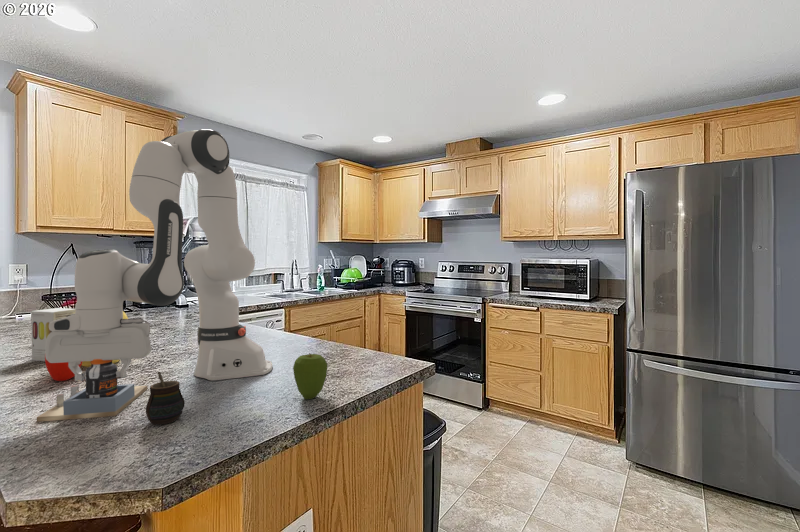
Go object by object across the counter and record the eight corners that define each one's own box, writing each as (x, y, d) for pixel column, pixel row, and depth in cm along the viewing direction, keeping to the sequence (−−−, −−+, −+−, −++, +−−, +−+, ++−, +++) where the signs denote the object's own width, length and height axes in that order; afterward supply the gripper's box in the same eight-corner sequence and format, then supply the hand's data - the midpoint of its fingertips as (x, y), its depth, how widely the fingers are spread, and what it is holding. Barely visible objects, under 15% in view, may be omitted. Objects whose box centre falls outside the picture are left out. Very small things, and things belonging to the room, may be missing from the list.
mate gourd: (156, 430, 82) (155, 382, 82) (138, 422, 86) (137, 376, 86) (191, 418, 88) (189, 373, 88) (172, 411, 92) (171, 368, 92)
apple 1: (91, 376, 118) (91, 339, 118) (58, 385, 110) (57, 346, 110) (71, 373, 121) (70, 337, 121) (37, 381, 113) (36, 343, 113)
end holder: (134, 395, 99) (134, 383, 99) (115, 411, 89) (115, 398, 89) (88, 399, 97) (87, 386, 97) (63, 415, 87) (63, 401, 87)
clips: (96, 393, 101) (96, 383, 101) (78, 405, 93) (78, 394, 93) (73, 395, 99) (73, 385, 99) (52, 407, 91) (52, 396, 91)
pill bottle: (101, 410, 90) (100, 360, 89) (79, 408, 91) (78, 359, 90) (124, 401, 96) (123, 354, 95) (103, 399, 97) (102, 352, 96)
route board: (147, 389, 107) (147, 385, 107) (115, 415, 89) (115, 410, 89) (82, 393, 104) (82, 389, 104) (36, 421, 86) (36, 416, 86)
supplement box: (30, 360, 135) (29, 310, 135) (58, 353, 144) (57, 307, 144) (54, 361, 134) (53, 311, 133) (80, 355, 143) (79, 308, 142)
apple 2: (315, 406, 95) (315, 358, 95) (285, 401, 98) (285, 355, 98) (333, 394, 103) (333, 350, 103) (305, 390, 106) (305, 347, 106)
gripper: (154, 316, 98) (155, 372, 98) (57, 319, 93) (58, 377, 94) (144, 320, 92) (145, 380, 92) (39, 323, 87) (41, 386, 88)
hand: (101, 379), depth 93 cm, fingers open, 7 cm apart
